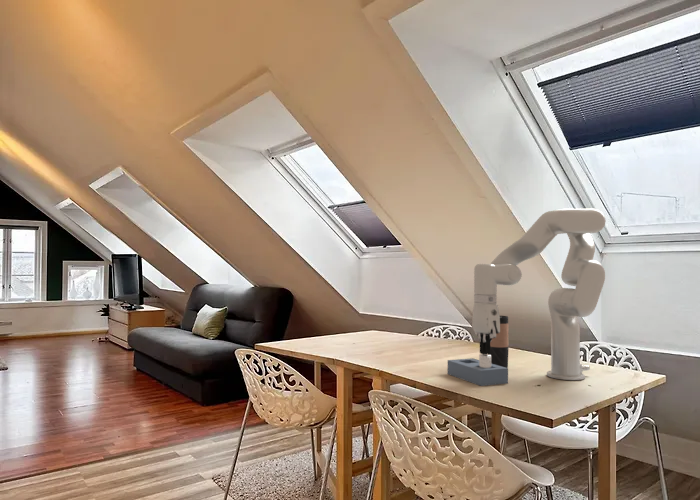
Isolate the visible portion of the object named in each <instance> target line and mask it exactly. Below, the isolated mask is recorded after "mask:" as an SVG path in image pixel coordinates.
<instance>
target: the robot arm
mask: <svg viewBox="0 0 700 500" xmlns="http://www.w3.org/2000/svg"><path fill="white" fill-rule="evenodd" d="M606 220H607V219H606V217H605V214H604V213H603V212H602V211H600V210H599V209H596V208H562V209H555V210H549V211H546V212H544V213H542V214H541V215H540V216H539V217H538V218H537V220H536V221H535V222H534V223H533V224H532V225H531V226H530V228H528V230H527V231H526V232H525V233H524V234H523V235H522V236H521V237H520V238H519V239H518V240H516V241H514V242H513V243H512V244H510V245H509V246H508V247H506V248H505V249H504V250H502V251H501V252H499V253H498V255H497V256H496V257H495V258H494V259H493V260H492V262H490V263H477V264H476V265H475V266H474V269H473V274H474V276H473V284H474V285H473V287H474V288H473V308H472V317H471V318H472V320H471V321H472V322H471V323H472V325H471V326H472V327H471V328H472V330H473V331H474V335H475V336H477V337H478V338H477V339H478V342H479V354H490V342H491V341H492V338H496V334H498V333H500V316H501V315H500V309H499V305H498V303H497V302H498V301H497V300H498V299H497V298H498V297H497V296H498V295H497V293H498V292H497V291H498V289H497V286H499V285H501V286H515V285H516V284H518V283H519V282H520V281H521V280H522V277H523V276H522V275H523V274H522V270H521V269H520V268H519V267H518V265H519V264H521V263H523V262H525V261H527V260H530V259H533V258H535V257H536V256H539V255H540V254H541V253H543V251H544V250H545V249H546V248H547V246H548V245H549V244H550V243H551V242H552V241H553V240H554V239H555V237H556V236H557V235H561V234H566V235H567V237H568V239H569V248H568V252H567V256H566V259H565V262H564V263H563V264H564V265H563V267H562V270H561V275H560V276H561V281H563V283H564V284H565V285H567V286H570V287H574V288H569V287H560V288H556V289H554V290H553V291H552V292H550V294H549V296H548V301H547V302H548V303H547V304H548V305H547V306H548V311H549V315H550V316H549V317H550V338H551V339H550V348H551V349H550V352H551V353H550V354H551V355H550V356H551V357H550V360H551V361H550V362H551V363H550V364H551V365H550V366H551V367H550V370H548V371H546V376H547V377H549V378H552V379H557V380H563V381H580V380H581V381H582V380H584V379H586V377H585V376H586V374H584V373H583V372H584V371H589V370H591V366H590V365H589V364H582V363H581V351H580V349H581V348H580V347H581V344H580V343H581V342H580V341H581V340H580V337H581V335H580V334H581V327H580V322H579V319H578V318H586V317H589V316H591V315H592V314H593V313H594V311H595V310H596V307H597V304H598V302H599V299H600V297H601V293H602V289H603V287H604V284H605V280H606V270H605V268H604V266H603V265H602V263H600V262H599V261H598V260H594V256H595V252H596V246H595V245H596V243H595V241H594V238H593V237H592V235H591V234H596V233H599V232H601V231H602V230H603V229H604V228H605V226H606Z"/></svg>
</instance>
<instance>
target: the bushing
mask: <svg viewBox="0 0 700 500" xmlns="http://www.w3.org/2000/svg"><path fill="white" fill-rule="evenodd" d="M478 357H479V358H478V360H479V367H480V368H483V369H485V368H491V355H490V354H481V353H479V355H478Z"/></svg>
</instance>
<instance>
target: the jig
mask: <svg viewBox="0 0 700 500" xmlns="http://www.w3.org/2000/svg"><path fill="white" fill-rule="evenodd" d="M447 375H450V376H451V377H455V378H458V379H461V380H463V381H466V382H470V383H472V384H475V385H478V386H479V387H484V386H494V385H503V384H509V367H508V368H505V367H502V366H498V365H495V364H491V368H485V369H483V368H480V367H479V359H477V358H476V359H475V358H472V357H471V358H460V359H459V358H458V359H447Z"/></svg>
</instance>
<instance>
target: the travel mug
mask: <svg viewBox="0 0 700 500" xmlns="http://www.w3.org/2000/svg"><path fill="white" fill-rule="evenodd" d="M499 316H500V333H498V334H496V338H492V341H491V342H490V355H491V364H495V365H498V366H502V367H505V368H508V369H509V346H510V345H509V316H508V315H499Z"/></svg>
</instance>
